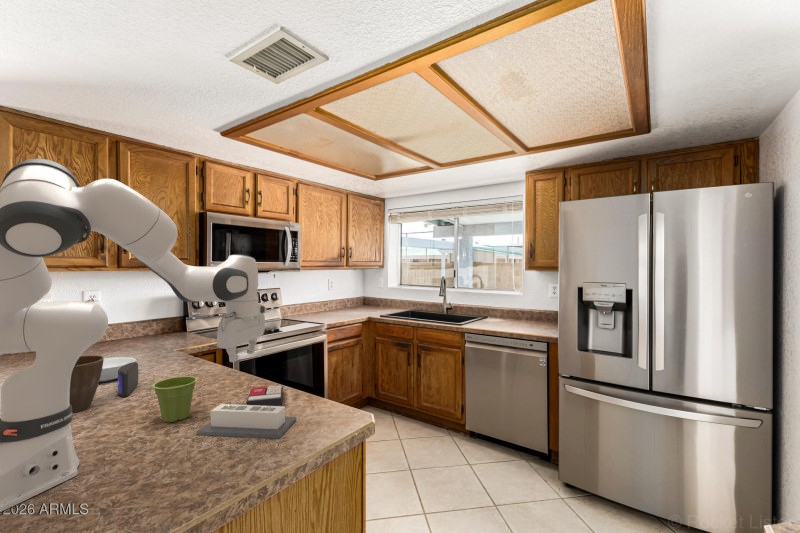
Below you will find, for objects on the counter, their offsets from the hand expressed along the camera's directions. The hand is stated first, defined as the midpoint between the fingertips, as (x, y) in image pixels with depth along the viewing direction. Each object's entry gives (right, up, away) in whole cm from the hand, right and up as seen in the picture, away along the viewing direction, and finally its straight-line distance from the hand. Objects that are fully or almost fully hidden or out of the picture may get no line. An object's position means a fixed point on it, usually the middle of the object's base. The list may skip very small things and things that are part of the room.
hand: (242, 357), depth 108 cm
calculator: (0, -21, +19) cm, 28 cm away
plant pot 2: (-23, -21, +6) cm, 32 cm away
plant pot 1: (-61, -21, +13) cm, 65 cm away
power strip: (+2, -19, -1) cm, 19 cm away
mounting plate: (+2, -20, -1) cm, 20 cm away
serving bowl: (-77, -21, +46) cm, 92 cm away
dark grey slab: (-56, -21, +31) cm, 67 cm away
